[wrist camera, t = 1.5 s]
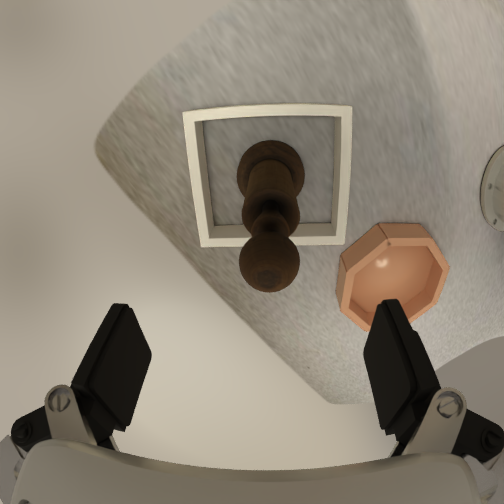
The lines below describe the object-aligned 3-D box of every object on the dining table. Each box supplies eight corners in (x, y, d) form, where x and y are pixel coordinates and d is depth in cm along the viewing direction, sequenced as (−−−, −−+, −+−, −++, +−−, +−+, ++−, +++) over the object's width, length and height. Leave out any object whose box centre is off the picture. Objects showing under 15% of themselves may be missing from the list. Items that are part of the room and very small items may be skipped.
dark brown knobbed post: (290, 208, 31) (305, 338, 15) (231, 191, 30) (189, 310, 15) (311, 151, 27) (362, 238, 12) (249, 131, 27) (215, 193, 11)
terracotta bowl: (445, 224, 30) (458, 237, 27) (419, 308, 37) (427, 325, 34) (343, 223, 31) (351, 238, 28) (331, 315, 38) (335, 333, 35)
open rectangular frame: (344, 104, 24) (352, 106, 22) (338, 231, 32) (344, 244, 29) (191, 110, 26) (182, 112, 23) (206, 233, 33) (201, 247, 30)
